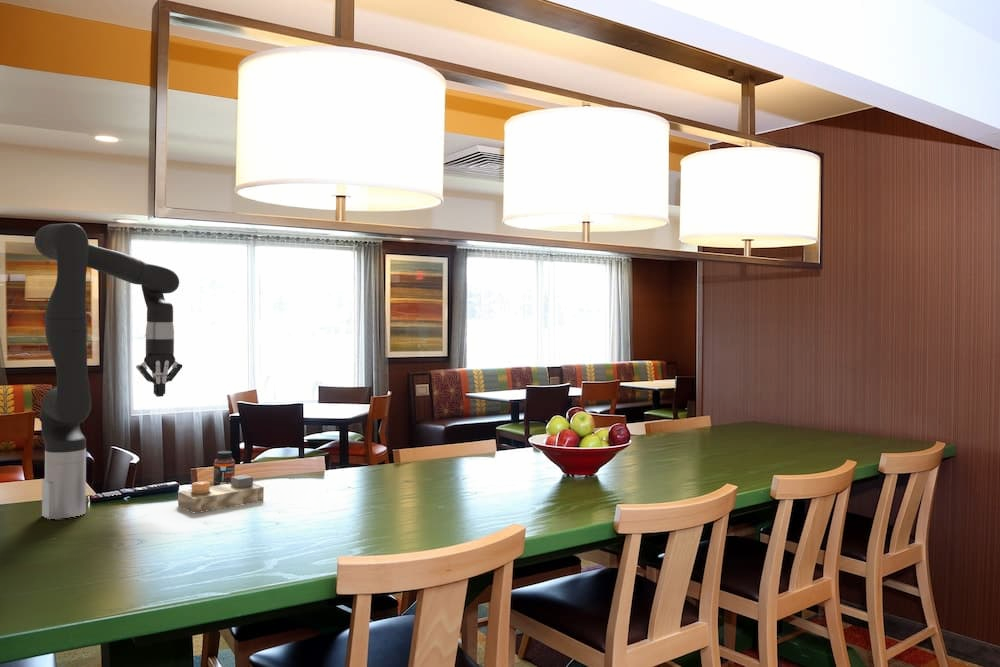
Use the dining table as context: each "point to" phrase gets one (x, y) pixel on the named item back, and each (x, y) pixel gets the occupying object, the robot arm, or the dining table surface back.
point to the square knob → (241, 481)
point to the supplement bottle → (224, 468)
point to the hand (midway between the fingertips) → (159, 396)
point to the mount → (220, 497)
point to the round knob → (200, 488)
